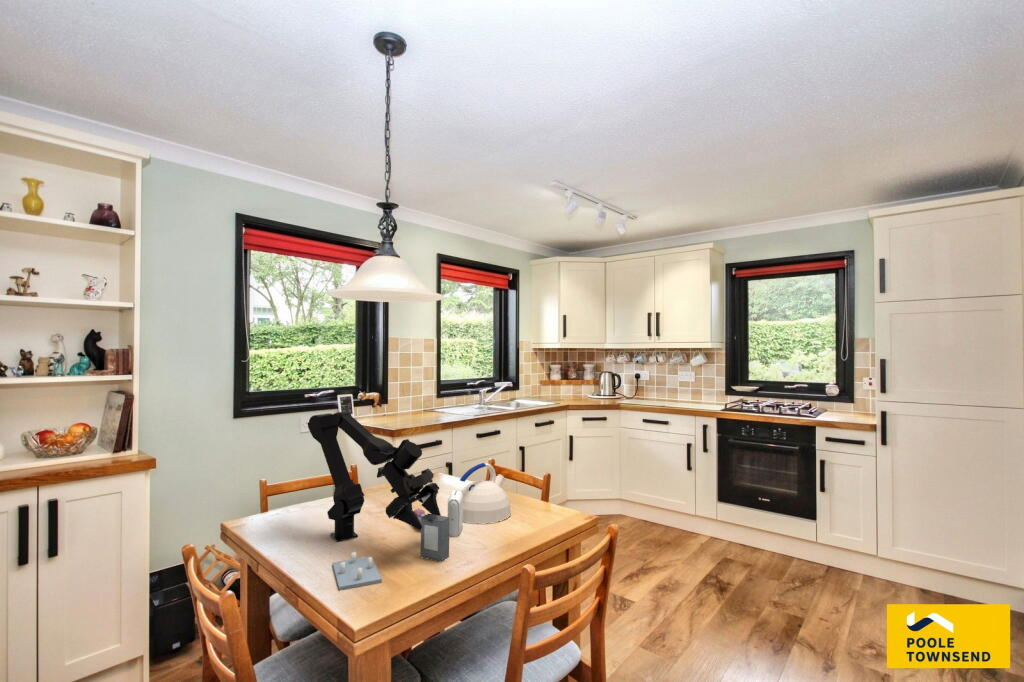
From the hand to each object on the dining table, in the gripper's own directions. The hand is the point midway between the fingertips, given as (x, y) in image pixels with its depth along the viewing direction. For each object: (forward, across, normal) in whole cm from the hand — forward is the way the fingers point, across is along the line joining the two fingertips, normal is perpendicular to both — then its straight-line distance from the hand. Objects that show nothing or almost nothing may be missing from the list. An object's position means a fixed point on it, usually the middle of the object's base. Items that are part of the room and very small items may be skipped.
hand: (430, 523), depth 136 cm
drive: (+7, 0, +5) cm, 9 cm away
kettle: (+4, +38, +10) cm, 39 cm away
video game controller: (-4, +18, +17) cm, 25 cm away
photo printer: (+4, +20, +10) cm, 22 cm away
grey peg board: (-1, -17, +14) cm, 22 cm away
